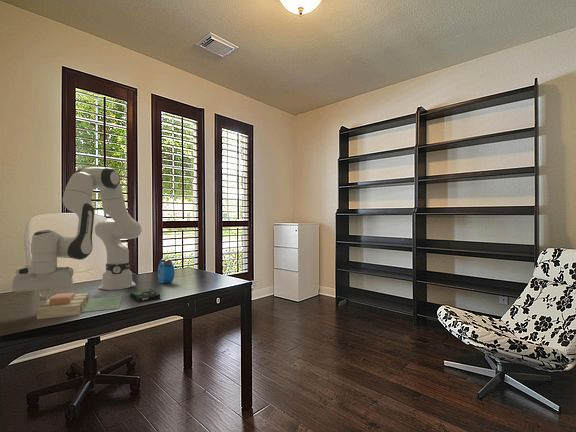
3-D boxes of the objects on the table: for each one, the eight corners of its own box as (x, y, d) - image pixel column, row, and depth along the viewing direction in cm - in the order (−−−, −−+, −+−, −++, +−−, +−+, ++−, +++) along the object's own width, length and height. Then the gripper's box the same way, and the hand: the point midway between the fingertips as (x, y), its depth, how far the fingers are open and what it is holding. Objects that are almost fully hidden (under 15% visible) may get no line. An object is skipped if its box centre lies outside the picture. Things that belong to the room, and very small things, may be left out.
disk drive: (160, 300, 149) (151, 293, 160) (160, 294, 149) (151, 288, 160) (138, 303, 142) (130, 297, 153) (138, 297, 142) (130, 291, 153)
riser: (52, 304, 137) (52, 295, 137) (88, 301, 143) (88, 292, 143) (36, 319, 117) (36, 309, 117) (79, 314, 123) (79, 305, 123)
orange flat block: (55, 298, 133) (56, 294, 133) (74, 296, 136) (74, 292, 136) (49, 304, 124) (49, 299, 124) (69, 302, 127) (69, 297, 127)
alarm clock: (174, 284, 182) (174, 259, 182) (164, 285, 178) (164, 260, 178) (167, 280, 192) (167, 257, 192) (157, 281, 188) (157, 258, 188)
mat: (89, 299, 146) (89, 298, 146) (122, 296, 152) (122, 295, 152) (80, 312, 126) (80, 311, 126) (118, 308, 132) (118, 307, 132)
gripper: (75, 265, 135) (74, 295, 134) (16, 268, 126) (16, 300, 126) (71, 267, 129) (71, 299, 129) (10, 270, 120) (9, 304, 120)
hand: (43, 300), depth 127 cm, fingers closed
